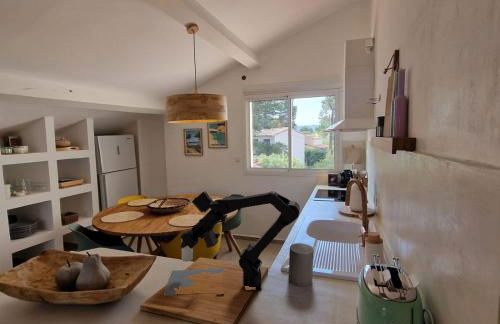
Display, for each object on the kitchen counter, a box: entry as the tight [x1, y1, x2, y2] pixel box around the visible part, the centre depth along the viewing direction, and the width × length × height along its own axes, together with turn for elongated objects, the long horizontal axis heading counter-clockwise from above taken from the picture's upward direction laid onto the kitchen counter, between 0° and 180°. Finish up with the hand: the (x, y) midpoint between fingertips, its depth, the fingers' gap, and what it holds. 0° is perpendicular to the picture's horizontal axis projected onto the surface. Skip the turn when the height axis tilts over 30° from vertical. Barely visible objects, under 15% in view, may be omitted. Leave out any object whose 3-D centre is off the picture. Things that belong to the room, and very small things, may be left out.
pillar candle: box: [288, 242, 315, 287], centre depth 111 cm, size 10×10×15 cm
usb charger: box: [180, 238, 194, 263], centre depth 111 cm, size 4×4×11 cm
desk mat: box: [163, 268, 225, 296], centre depth 109 cm, size 22×18×1 cm
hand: (184, 245), depth 112 cm, fingers closed on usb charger, 4 cm apart
